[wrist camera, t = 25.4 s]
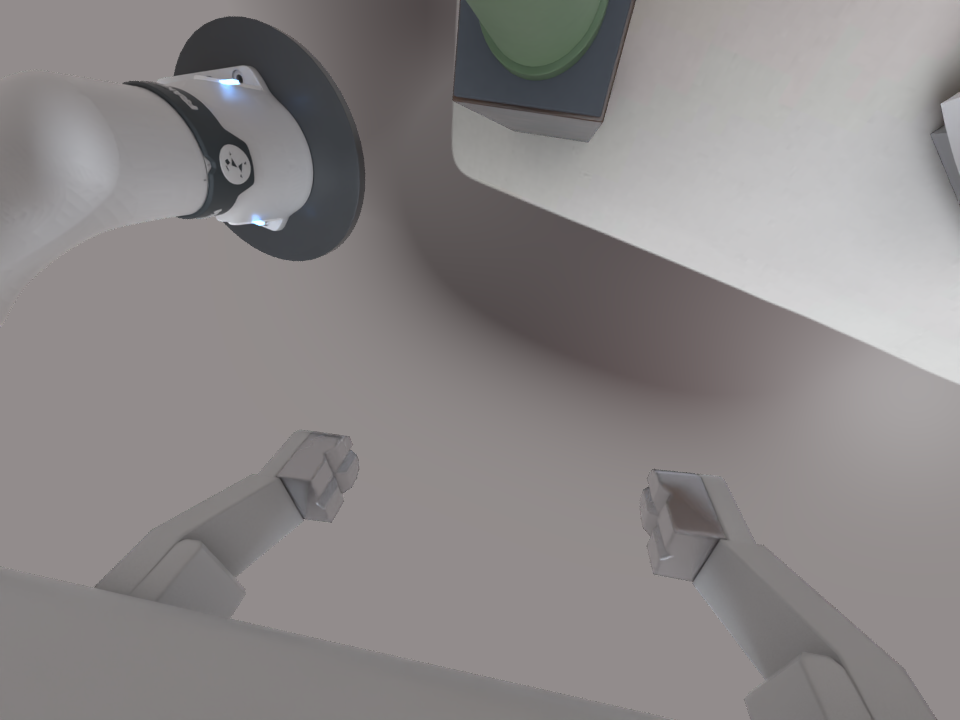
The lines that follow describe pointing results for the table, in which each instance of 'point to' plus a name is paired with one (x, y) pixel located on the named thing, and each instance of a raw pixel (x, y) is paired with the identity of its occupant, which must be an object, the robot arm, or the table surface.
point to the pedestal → (545, 119)
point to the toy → (539, 33)
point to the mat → (563, 93)
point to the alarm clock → (950, 141)
